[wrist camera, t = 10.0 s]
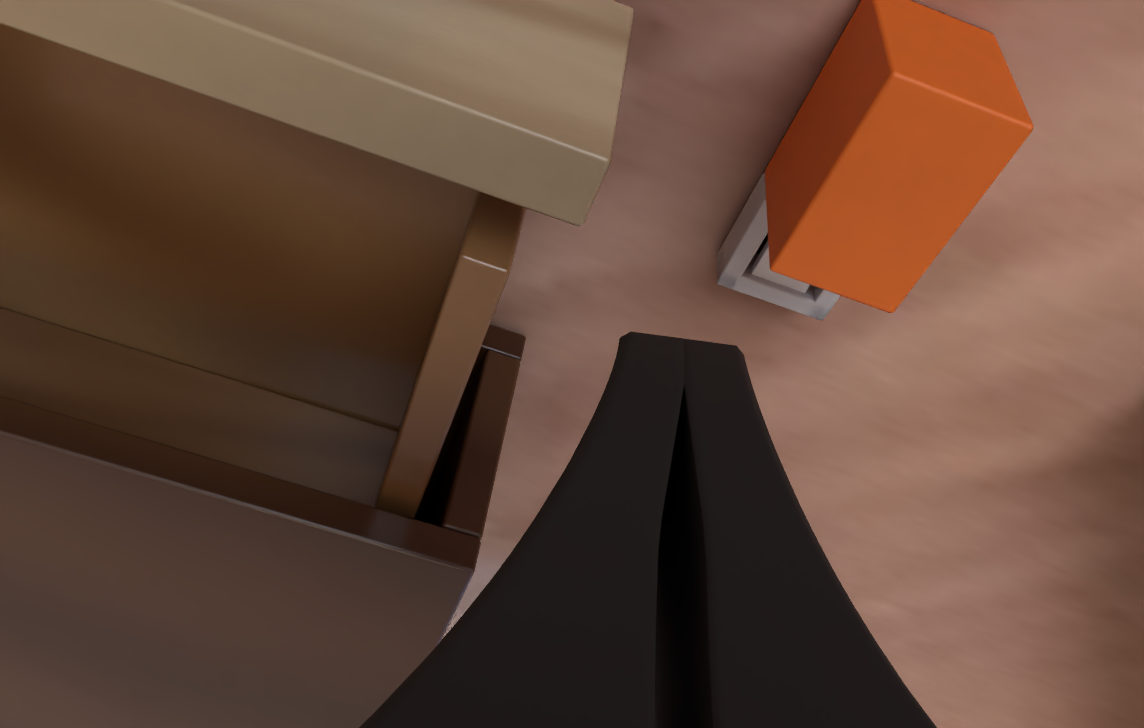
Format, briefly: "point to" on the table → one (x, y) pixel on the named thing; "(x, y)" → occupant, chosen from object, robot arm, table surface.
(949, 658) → the table surface
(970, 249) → the table surface
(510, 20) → the drawer
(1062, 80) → the table surface
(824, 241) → the block
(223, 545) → the cabinet
